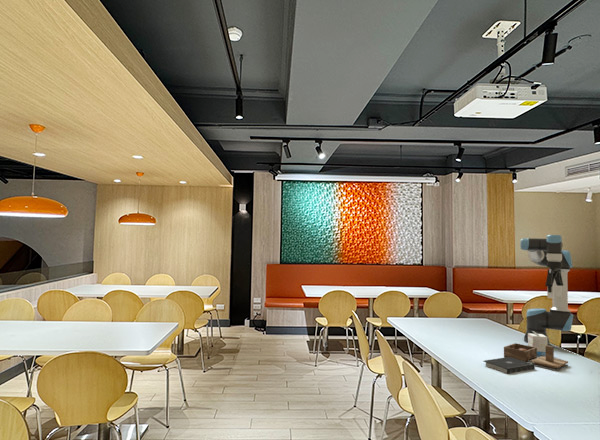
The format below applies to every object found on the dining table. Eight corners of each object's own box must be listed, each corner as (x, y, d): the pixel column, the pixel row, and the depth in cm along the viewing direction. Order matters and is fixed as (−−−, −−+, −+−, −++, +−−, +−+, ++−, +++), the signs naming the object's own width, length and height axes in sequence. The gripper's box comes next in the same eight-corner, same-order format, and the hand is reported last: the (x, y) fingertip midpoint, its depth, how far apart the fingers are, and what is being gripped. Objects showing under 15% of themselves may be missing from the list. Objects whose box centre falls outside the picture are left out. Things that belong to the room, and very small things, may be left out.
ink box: (548, 356, 230) (548, 334, 231) (533, 355, 232) (532, 333, 232) (542, 352, 238) (542, 331, 239) (527, 351, 240) (527, 330, 241)
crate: (515, 352, 236) (515, 343, 236) (536, 357, 226) (536, 347, 227) (503, 357, 226) (503, 346, 226) (525, 362, 216) (525, 351, 217)
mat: (542, 359, 222) (542, 358, 222) (568, 365, 212) (568, 364, 212) (531, 364, 212) (531, 363, 212) (558, 371, 202) (558, 370, 202)
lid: (542, 358, 223) (542, 341, 223) (568, 364, 213) (567, 346, 213) (531, 363, 212) (531, 345, 213) (557, 370, 202) (557, 351, 203)
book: (507, 374, 196) (507, 369, 196) (482, 366, 209) (482, 360, 209) (534, 370, 205) (534, 364, 205) (509, 362, 218) (509, 356, 218)
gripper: (554, 260, 235) (555, 295, 234) (538, 260, 219) (539, 297, 218) (568, 261, 229) (569, 296, 228) (553, 261, 214) (554, 299, 212)
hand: (554, 297), depth 223 cm, fingers open, 13 cm apart
